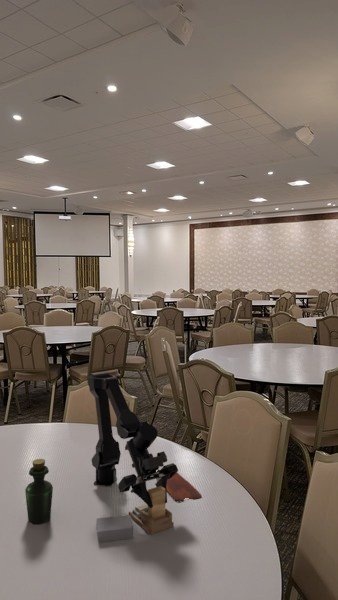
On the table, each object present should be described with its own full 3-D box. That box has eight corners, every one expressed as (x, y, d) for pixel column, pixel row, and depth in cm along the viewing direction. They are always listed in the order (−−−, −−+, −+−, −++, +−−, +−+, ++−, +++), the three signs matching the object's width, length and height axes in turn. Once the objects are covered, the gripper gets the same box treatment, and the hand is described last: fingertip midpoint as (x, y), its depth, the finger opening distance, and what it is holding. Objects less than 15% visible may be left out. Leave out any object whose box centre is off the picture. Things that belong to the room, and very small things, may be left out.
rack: (128, 514, 140) (128, 502, 140) (151, 507, 145) (151, 495, 145) (150, 534, 130) (150, 520, 130) (173, 525, 134) (173, 512, 134)
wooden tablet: (203, 499, 152) (203, 494, 152) (176, 504, 148) (176, 499, 148) (173, 468, 176) (173, 463, 176) (148, 472, 173) (148, 467, 173)
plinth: (96, 528, 133) (96, 518, 133) (130, 524, 135) (130, 514, 135) (97, 542, 126) (97, 531, 126) (133, 537, 128) (133, 527, 128)
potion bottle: (54, 511, 142) (53, 455, 141) (51, 525, 134) (51, 466, 133) (27, 513, 141) (26, 456, 140) (23, 527, 133) (22, 467, 132)
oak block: (147, 515, 134) (147, 489, 134) (160, 511, 137) (160, 485, 136) (152, 519, 132) (152, 493, 132) (165, 515, 135) (165, 489, 134)
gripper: (122, 450, 131) (141, 503, 123) (175, 437, 142) (196, 485, 133) (110, 467, 138) (127, 518, 130) (161, 454, 149) (180, 500, 140)
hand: (159, 505), depth 133 cm, fingers closed on oak block, 5 cm apart
